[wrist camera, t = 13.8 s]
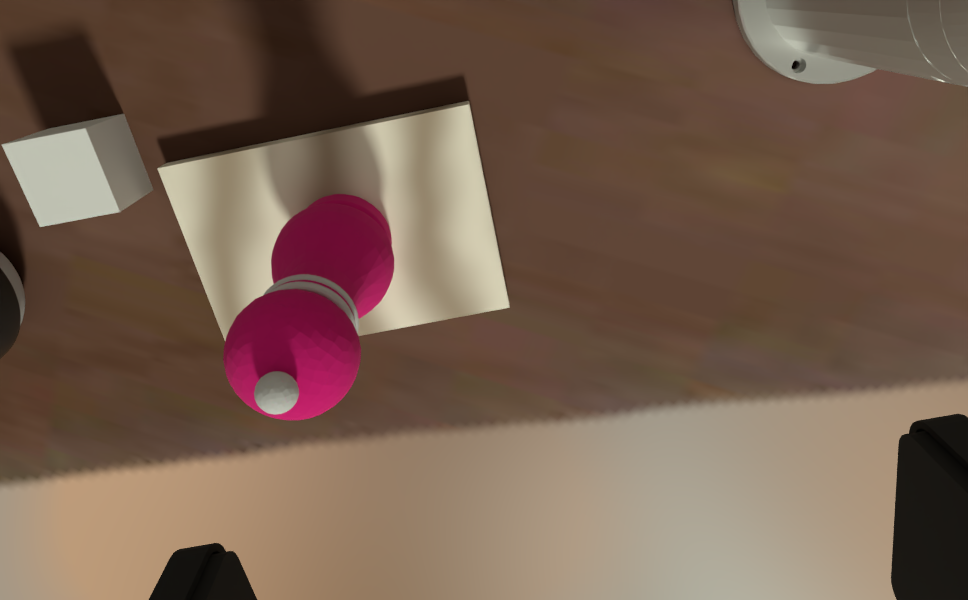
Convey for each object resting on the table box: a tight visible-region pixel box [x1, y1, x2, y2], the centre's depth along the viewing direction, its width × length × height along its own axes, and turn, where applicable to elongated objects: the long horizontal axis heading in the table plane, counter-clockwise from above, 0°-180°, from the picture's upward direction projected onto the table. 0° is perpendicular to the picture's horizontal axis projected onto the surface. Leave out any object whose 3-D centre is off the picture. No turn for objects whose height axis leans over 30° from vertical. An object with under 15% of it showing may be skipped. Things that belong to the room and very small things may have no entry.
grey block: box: [2, 114, 153, 227], centre depth 43 cm, size 5×5×5 cm
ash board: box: [157, 101, 509, 341], centre depth 47 cm, size 20×14×2 cm
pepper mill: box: [223, 194, 394, 420], centre depth 37 cm, size 7×7×20 cm
